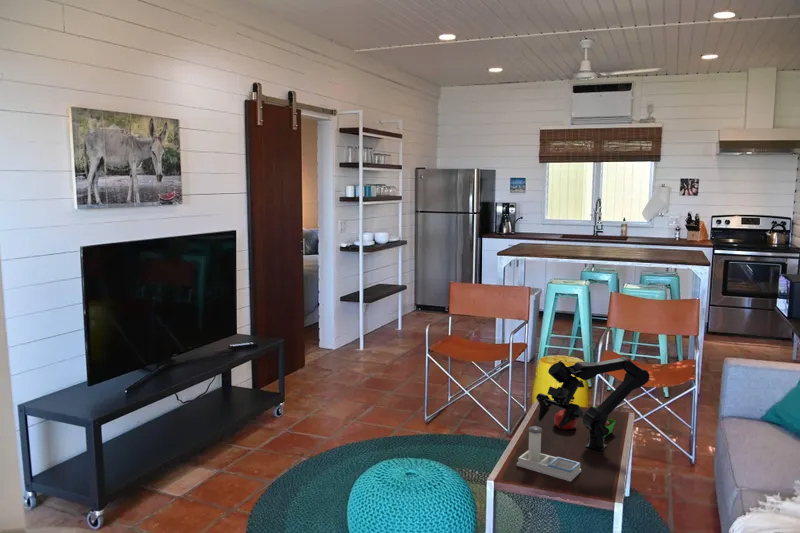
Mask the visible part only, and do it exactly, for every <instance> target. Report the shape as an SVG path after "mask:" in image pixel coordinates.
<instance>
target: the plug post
mask: <svg viewBox="0 0 800 533" xmlns="http://www.w3.org/2000/svg"><path fill="white" fill-rule="evenodd" d="M542 431H543V429H542V427H540V426H538V425H533V426H529V427H528V450H529V452H528V460H531V461H535V462H538V463H539V462H540V454H541V448H542V447H541V446H542Z"/></svg>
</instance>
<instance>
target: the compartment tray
mask: <svg viewBox="0 0 800 533" xmlns="http://www.w3.org/2000/svg"><path fill="white" fill-rule="evenodd" d="M528 452H529V449H528V450H526V451H525V452H524V453H522V454H521V455H520V456H519V457H518V458H517V462H516V466H517V467H520V468H524V469H527V470H530V471H534V472H537V473H540V474H544V475H547V476H551V477H553V478H557V479H561V480H564V481H567V482H572V481H573V480H575V478H576V477H577V476H578V475H579V474H581V473H582V468H581V462H579V461H576V460H571V459H568V458H564V457H560V456H552V455H549V454H545V453H541V454H540V462H539V463H538V462H535V461H531V460H528Z"/></svg>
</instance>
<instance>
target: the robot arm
mask: <svg viewBox="0 0 800 533" xmlns="http://www.w3.org/2000/svg"><path fill="white" fill-rule="evenodd" d="M621 370H623V371H624V372H625V374H624V377H623V381H622V382H621V383H620V384H619V385H618V386H617V387H616V389H614V390H613V391H612V392H611V393H610V394H609V396H607V398H605V399H604V401H602V403H600V405H598V406H594V407H596V408H594V407H593V406H592V405H591V406H589V407H588V409H587V410H586V411H585V412H584V411H583V409H582V407H581V406H580V405H579V404H577V403H573V402H572V401H574V400H575V394H576V392H577V390H578V389H579V388H584V387H585V385H584V381H589V380H591V379H594V378H595V377H596V376H597V375H600V374H606V373H610V372H611V373H612V372H616V371H621ZM547 371H548V372H547V373H548V374H549V375H550V376H551V377H552V378H553V379H555V381H556V382H557V383H559V384H561V386H558V387H553V386H549V388H548V391H547V394H544V393H541V392H540V393H537V395H536V396H535V400H536V401H537V403H538V405H539V412H538V413H539V414H538V419H537V420H538V421H539V422H541V421H542V420H543V419H544V417H546V415H547V414H548V412H549V410H550V407H551V406H553V407H556V408H559V409H561V410H563V409H565V410H566V411H565V415H564V417H563V419H562V420H561V422H560V424H559V427H558V428H559V429H561V428H562V427H563V426H565V425H566V424H568V423H569V422H571V421H573V420H575V419H577V420H578V419H580V420H581V419H582V423H583V425H585V428H586V429H587V430H588V431H589V433H588V434H589V435H588V436H589V437H588V443H587V444H586V445H585V447H586V448H589V449H592V450H596V451H600V452H601V451H603V450H604V449H605V448H607V446H608V444H606V443H605V437H604V436H605V435H607V436H608V435H609V434H610V433H609V429H608V428H607V427H606V426H605V424H606V422H607V419H609V415H611V414H612V412H613V411H614V410H615V409H616V408H617V407H618V406H619V405H620V404H621V403H622V402H623V401H624V400H625V399H626V398H627V397H628V396H629V395H630V394H631V393H632V392H633V391H634V390H636V389H639V388H642V387H644V385H647V384H648V382H649V381H650V373H649V371H648V370H645V369H643V367H642V368H641V367H640V366H638V365H636V364H635V363H633V362H632V360H630V359H629V358H627V357H624V356H621V357H619V358H613V359H608V360H607V359H606V360H602V361H597V362H589V361H578V362H575V363H574V364H573V365H567V366H566V364H565V363H564V362H563V361H562V360H558V362H556V363H554V364H552V365H550V367H549V368H548V370H547ZM549 396H550V397H551V398H550V397H549ZM608 433H609V434H608Z"/></svg>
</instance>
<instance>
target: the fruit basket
mask: <svg viewBox="0 0 800 533" xmlns="http://www.w3.org/2000/svg"><path fill="white" fill-rule="evenodd" d="M592 407H594V408H596V407H597V406H592ZM615 424H616V420H614V419H610V418H608V419H607V422H606V424H605V426H606V427H607V428H608V429H609V433H608V435H609V434H611V433H612V432H613V430H614V429H613V428H614V426H615ZM608 435H605V436H604V438H606V437H607V436H608Z"/></svg>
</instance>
